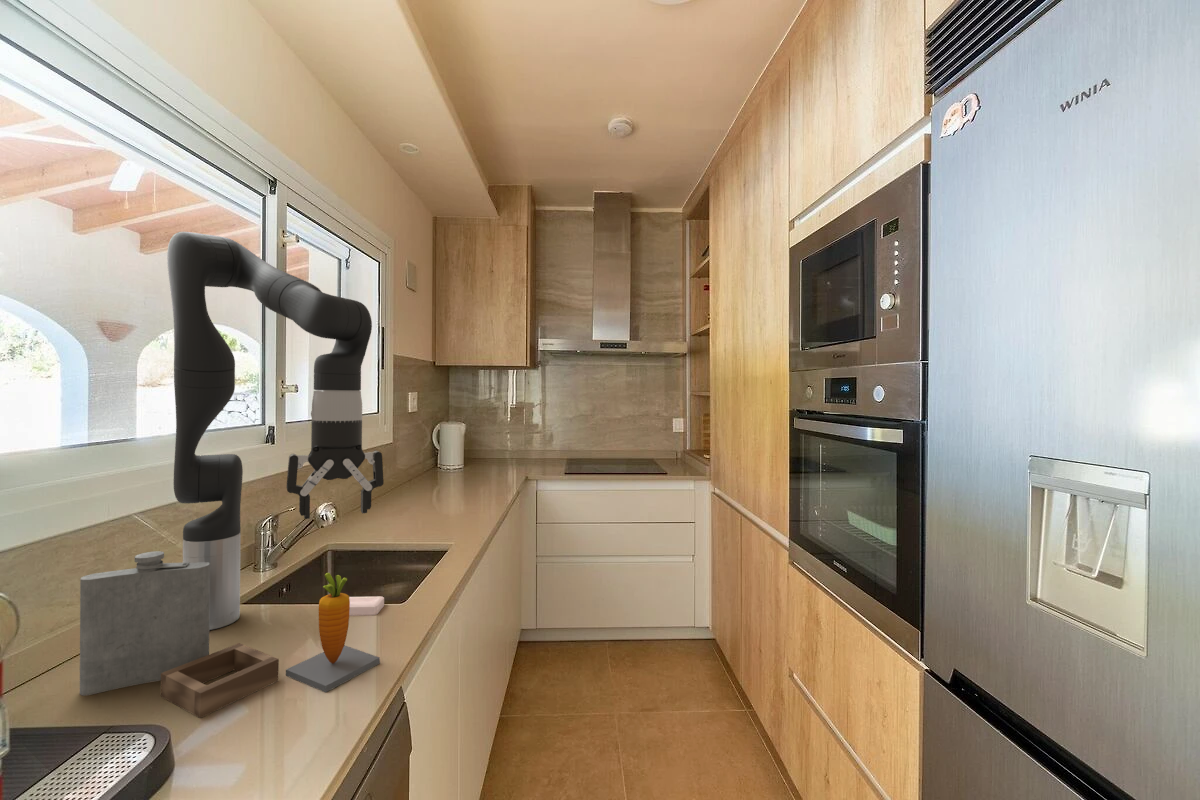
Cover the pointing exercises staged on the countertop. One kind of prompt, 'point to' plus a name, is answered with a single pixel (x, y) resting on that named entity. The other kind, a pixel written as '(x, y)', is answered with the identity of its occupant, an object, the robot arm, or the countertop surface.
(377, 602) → the soap bar
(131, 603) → the hip flask
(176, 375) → the robot arm
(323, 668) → the mat
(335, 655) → the carrot
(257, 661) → the socket collar
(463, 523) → the countertop surface
